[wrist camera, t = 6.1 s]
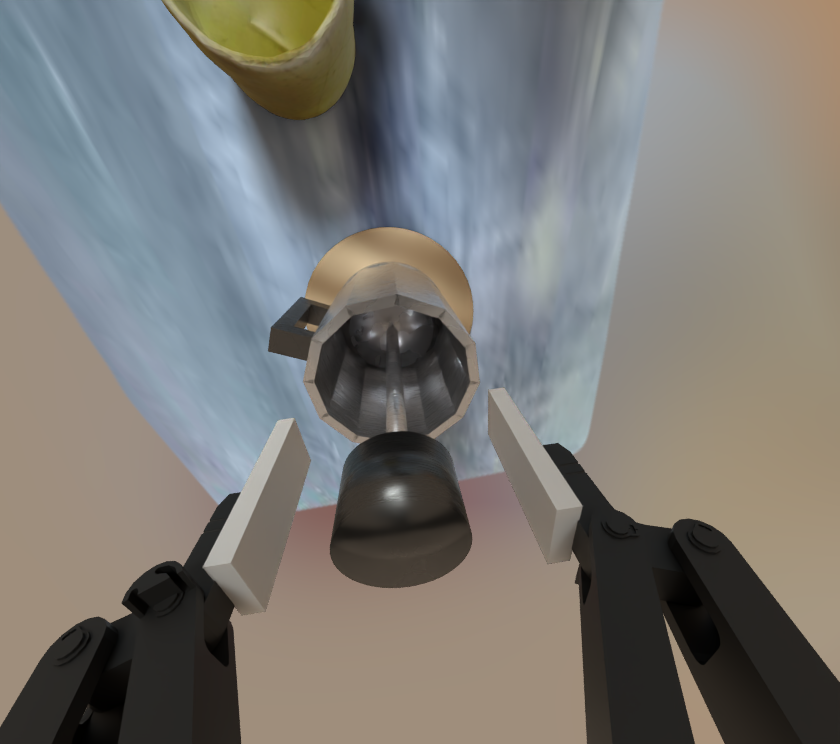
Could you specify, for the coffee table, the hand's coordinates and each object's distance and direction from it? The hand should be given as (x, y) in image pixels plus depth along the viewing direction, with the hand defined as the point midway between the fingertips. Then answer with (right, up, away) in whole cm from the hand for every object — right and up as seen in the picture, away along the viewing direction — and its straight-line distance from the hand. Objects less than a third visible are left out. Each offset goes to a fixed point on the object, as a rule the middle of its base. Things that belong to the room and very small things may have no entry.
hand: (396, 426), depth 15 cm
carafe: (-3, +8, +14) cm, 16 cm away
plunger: (-1, +7, +12) cm, 14 cm away
